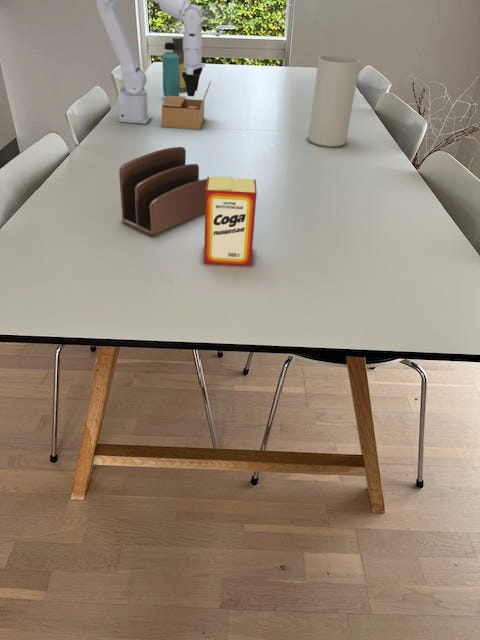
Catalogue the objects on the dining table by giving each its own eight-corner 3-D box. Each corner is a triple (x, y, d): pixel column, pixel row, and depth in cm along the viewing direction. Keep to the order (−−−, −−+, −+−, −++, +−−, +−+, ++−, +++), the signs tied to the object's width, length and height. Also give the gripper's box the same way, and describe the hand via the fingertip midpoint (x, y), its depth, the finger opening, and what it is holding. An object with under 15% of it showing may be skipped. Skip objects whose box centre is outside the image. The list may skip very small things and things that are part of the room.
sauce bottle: (188, 89, 225) (188, 36, 213) (185, 93, 220) (185, 38, 208) (173, 88, 225) (172, 35, 214) (170, 91, 220) (169, 37, 209)
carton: (204, 119, 191) (204, 98, 187) (199, 129, 181) (200, 107, 177) (168, 116, 191) (167, 95, 187) (162, 126, 181) (161, 104, 177)
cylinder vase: (344, 149, 172) (359, 64, 158) (306, 144, 174) (317, 60, 159) (346, 138, 182) (360, 57, 168) (309, 133, 184) (320, 53, 169)
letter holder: (121, 222, 121) (116, 161, 113) (183, 198, 134) (183, 141, 126) (152, 237, 116) (149, 174, 108) (213, 210, 129) (215, 152, 121)
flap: (204, 98, 187) (204, 98, 187) (199, 107, 177) (200, 108, 177) (210, 80, 183) (211, 81, 184) (206, 89, 173) (207, 89, 173)
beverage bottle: (178, 102, 208) (178, 44, 196) (161, 100, 208) (160, 43, 196) (180, 97, 213) (180, 41, 201) (164, 96, 213) (162, 40, 201)
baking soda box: (250, 250, 114) (256, 177, 105) (250, 265, 109) (256, 190, 99) (205, 248, 114) (207, 175, 104) (204, 263, 108) (205, 187, 99)
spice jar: (185, 123, 184) (185, 108, 181) (187, 120, 187) (187, 105, 184) (197, 124, 184) (197, 109, 181) (198, 121, 187) (199, 106, 184)
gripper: (202, 53, 166) (201, 99, 174) (207, 45, 178) (206, 89, 186) (179, 51, 166) (180, 97, 174) (186, 44, 178) (186, 87, 186)
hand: (192, 93), depth 180 cm, fingers open, 7 cm apart
